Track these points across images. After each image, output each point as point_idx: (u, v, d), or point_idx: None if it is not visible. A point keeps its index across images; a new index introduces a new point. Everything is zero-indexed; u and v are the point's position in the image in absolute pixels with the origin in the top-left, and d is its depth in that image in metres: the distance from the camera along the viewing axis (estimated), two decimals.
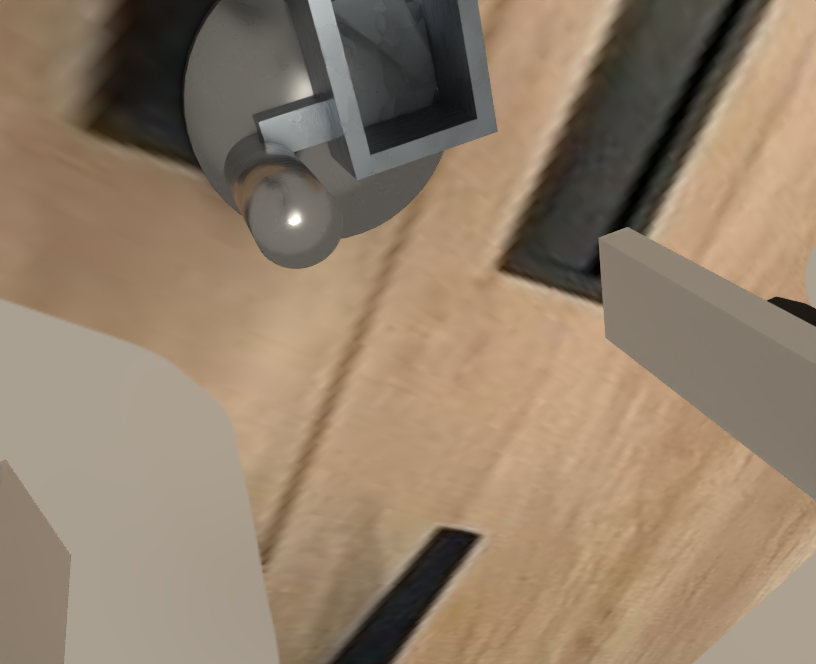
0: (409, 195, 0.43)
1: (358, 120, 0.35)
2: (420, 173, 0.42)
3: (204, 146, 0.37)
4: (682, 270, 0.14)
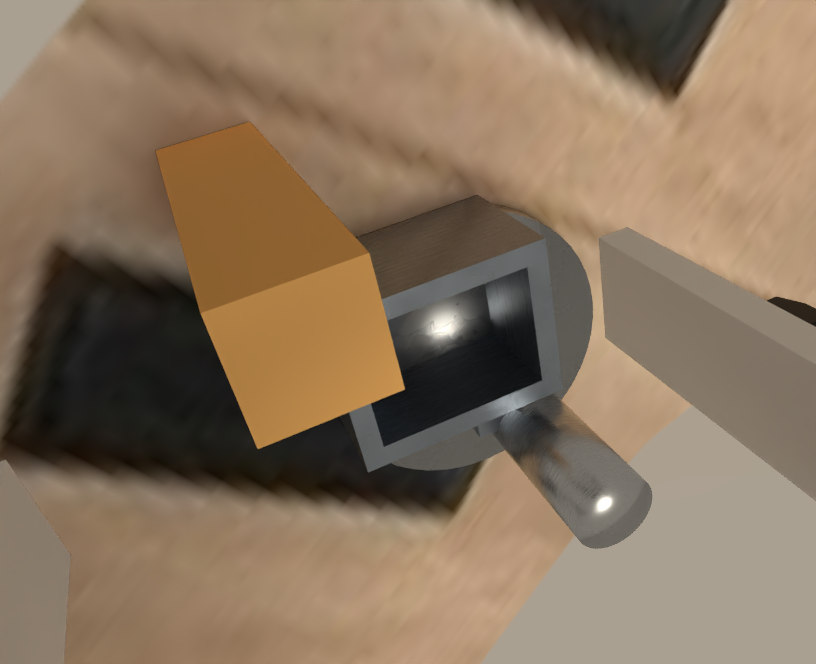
0: (567, 253, 0.37)
1: (507, 397, 0.33)
2: (546, 243, 0.36)
3: (485, 451, 0.41)
4: (682, 270, 0.14)
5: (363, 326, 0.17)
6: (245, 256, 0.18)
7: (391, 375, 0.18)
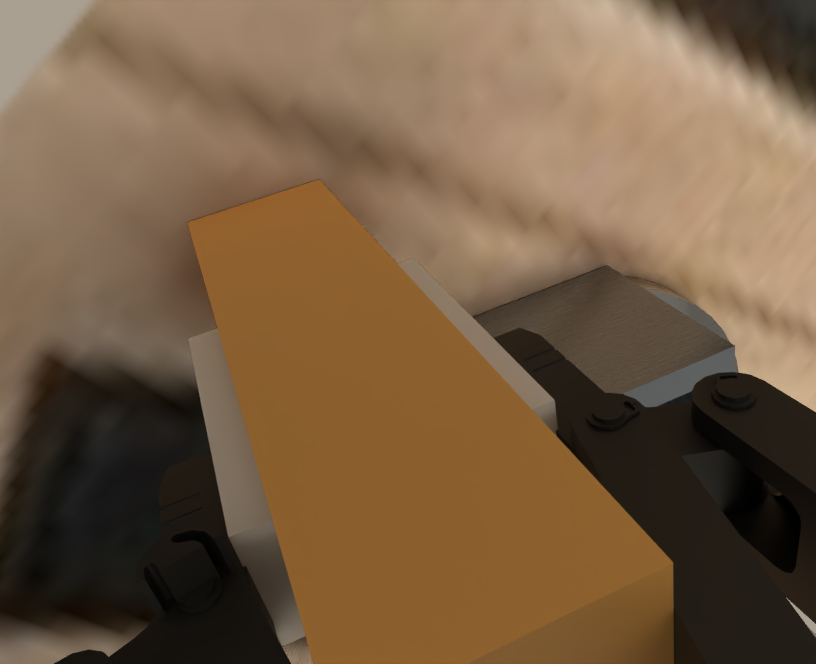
0: None
1: None
2: None
3: None
4: (436, 302, 0.15)
5: None
6: (388, 520, 0.09)
7: None
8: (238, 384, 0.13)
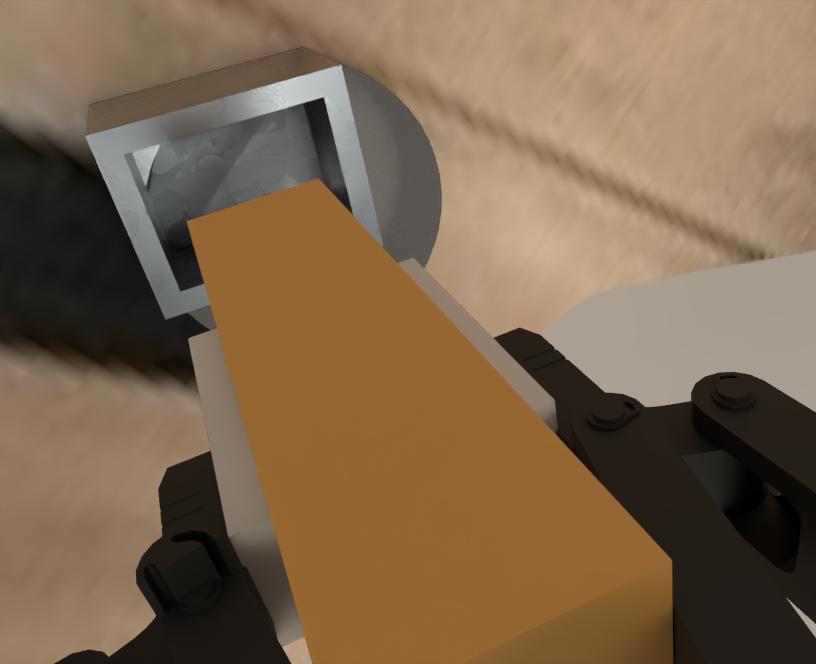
0: (405, 116, 0.35)
1: None
2: (380, 102, 0.34)
3: None
4: (436, 302, 0.15)
5: None
6: (387, 518, 0.09)
7: None
8: (237, 382, 0.13)
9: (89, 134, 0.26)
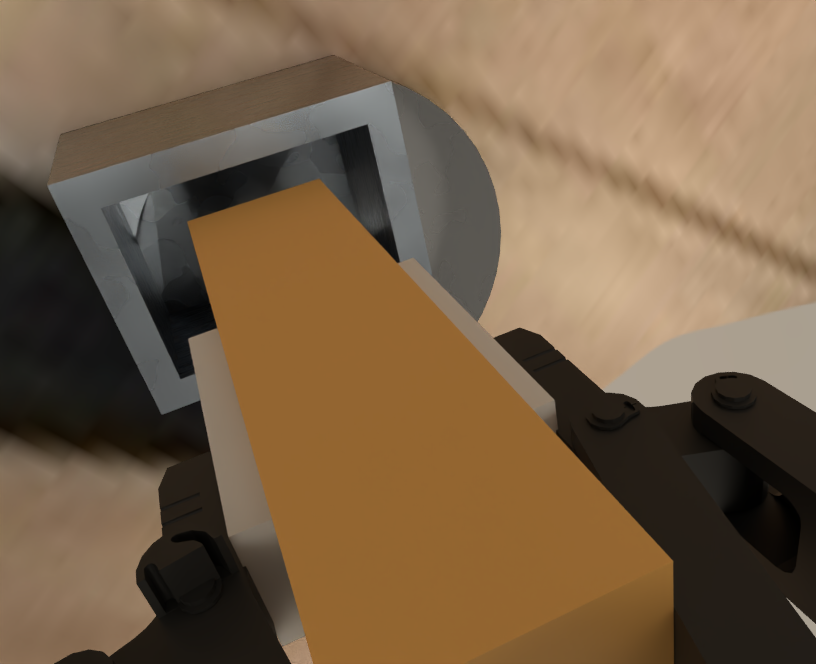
0: (459, 139, 0.28)
1: None
2: (429, 123, 0.27)
3: None
4: (436, 302, 0.15)
5: None
6: (388, 519, 0.09)
7: None
8: (238, 383, 0.13)
9: (53, 182, 0.19)
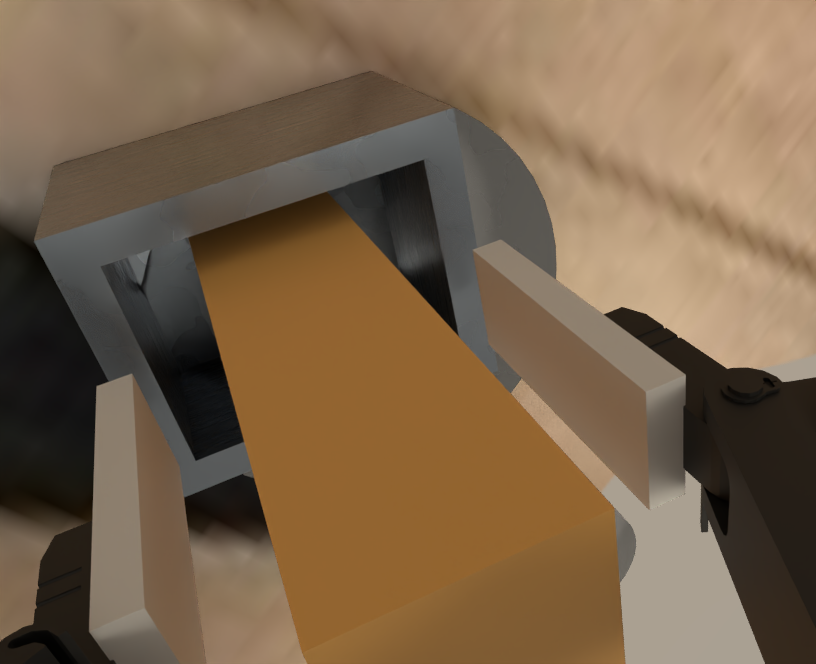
0: (514, 167, 0.24)
1: None
2: (481, 149, 0.24)
3: None
4: (536, 282, 0.15)
5: (581, 619, 0.09)
6: (360, 476, 0.10)
7: None
8: (226, 359, 0.13)
9: (41, 236, 0.15)
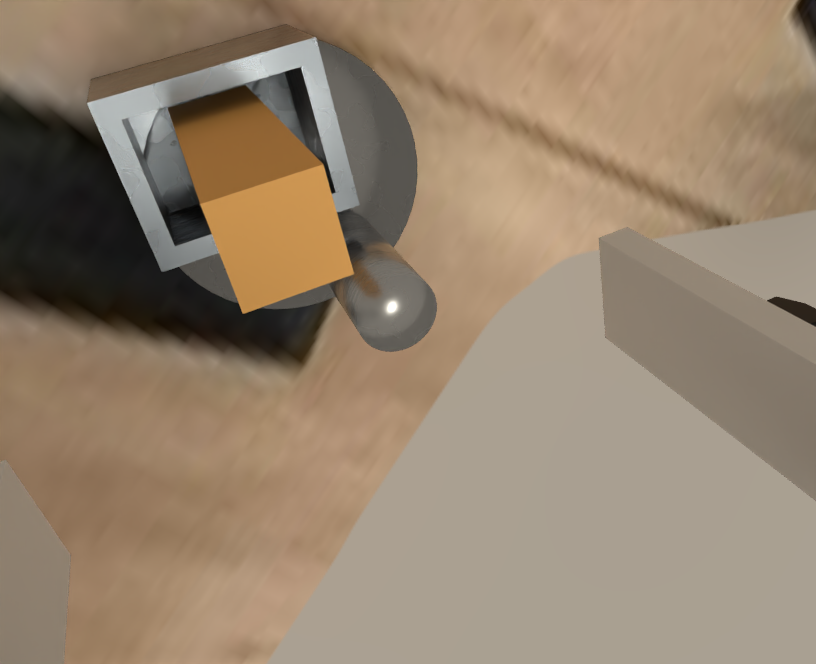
0: (380, 87, 0.38)
1: None
2: (357, 74, 0.37)
3: (319, 293, 0.42)
4: (682, 270, 0.14)
5: (320, 221, 0.23)
6: (234, 170, 0.24)
7: (343, 261, 0.24)
8: (184, 151, 0.27)
9: (90, 101, 0.29)
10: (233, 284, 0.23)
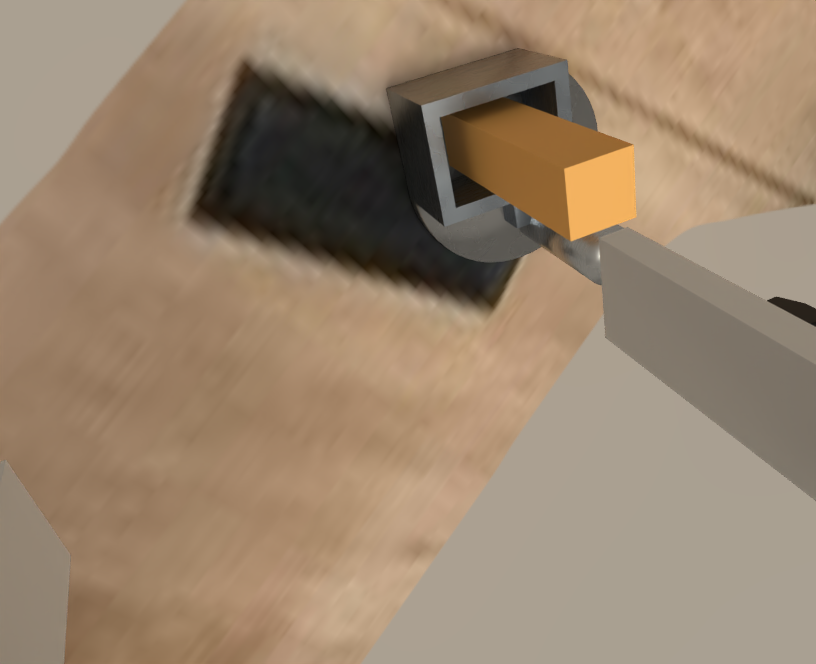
0: (580, 94, 0.51)
1: None
2: None
3: (518, 250, 0.56)
4: (682, 270, 0.14)
5: (624, 181, 0.37)
6: (564, 149, 0.37)
7: (631, 208, 0.38)
8: (503, 138, 0.41)
9: (422, 104, 0.43)
10: (569, 221, 0.37)
